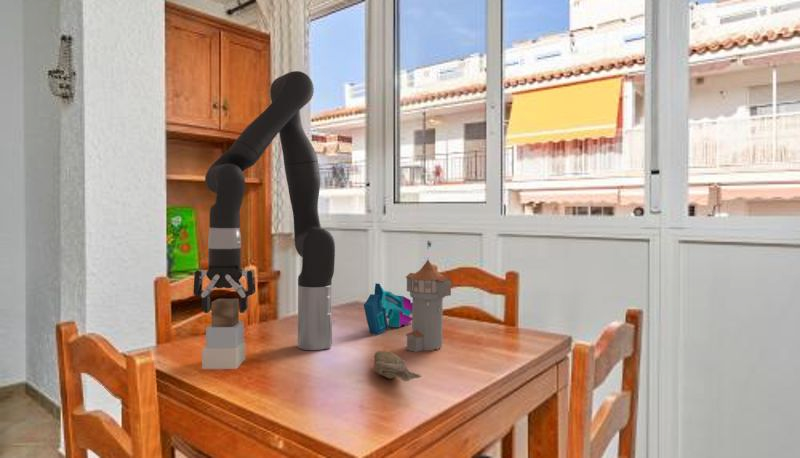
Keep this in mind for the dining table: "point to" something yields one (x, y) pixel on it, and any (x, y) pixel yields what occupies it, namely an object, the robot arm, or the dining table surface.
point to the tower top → (224, 336)
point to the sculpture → (392, 366)
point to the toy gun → (386, 310)
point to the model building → (427, 307)
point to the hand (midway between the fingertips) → (224, 312)
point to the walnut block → (225, 313)
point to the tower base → (223, 357)
